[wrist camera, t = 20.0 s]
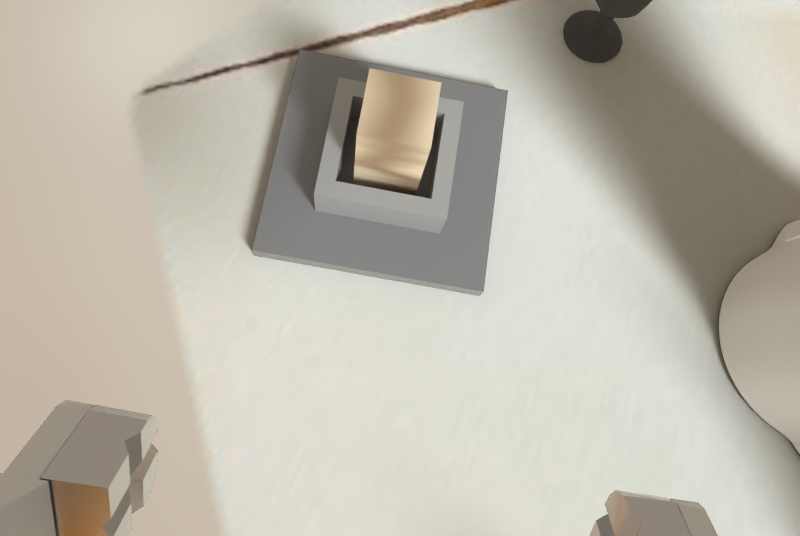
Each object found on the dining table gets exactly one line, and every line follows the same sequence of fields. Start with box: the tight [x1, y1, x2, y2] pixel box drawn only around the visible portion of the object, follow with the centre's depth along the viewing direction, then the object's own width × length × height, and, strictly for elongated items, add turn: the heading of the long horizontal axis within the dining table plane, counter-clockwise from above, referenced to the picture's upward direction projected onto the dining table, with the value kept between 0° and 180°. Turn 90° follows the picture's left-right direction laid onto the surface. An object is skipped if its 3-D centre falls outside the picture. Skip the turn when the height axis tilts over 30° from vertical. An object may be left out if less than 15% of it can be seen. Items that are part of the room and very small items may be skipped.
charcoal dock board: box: [252, 49, 508, 296], centre depth 42 cm, size 16×16×4 cm
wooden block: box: [353, 68, 441, 196], centre depth 39 cm, size 4×4×8 cm
